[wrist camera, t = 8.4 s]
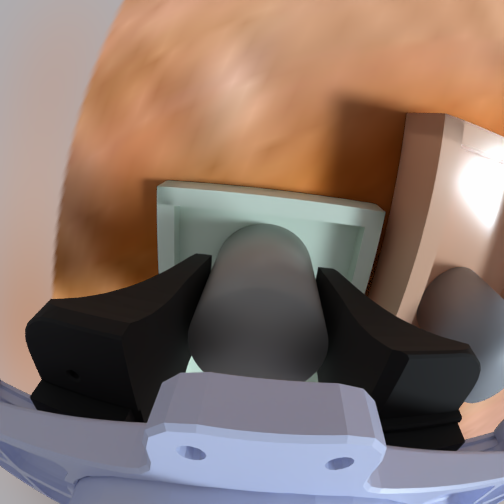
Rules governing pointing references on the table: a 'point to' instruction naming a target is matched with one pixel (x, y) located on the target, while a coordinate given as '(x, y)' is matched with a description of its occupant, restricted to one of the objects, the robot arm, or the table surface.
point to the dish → (442, 211)
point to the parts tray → (268, 212)
